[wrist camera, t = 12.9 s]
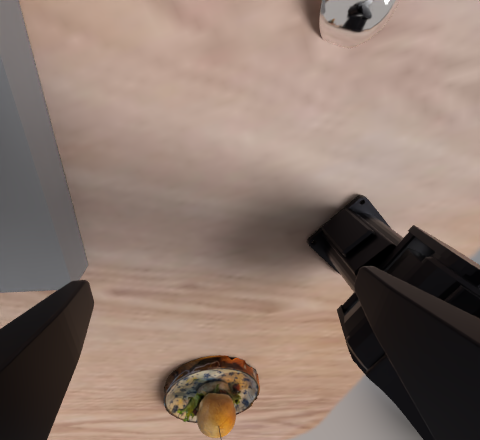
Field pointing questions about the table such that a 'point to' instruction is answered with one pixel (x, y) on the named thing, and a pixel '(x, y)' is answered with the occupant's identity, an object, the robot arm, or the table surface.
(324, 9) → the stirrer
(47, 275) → the hub plate
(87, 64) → the table surface
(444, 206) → the table surface
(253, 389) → the plate of food
